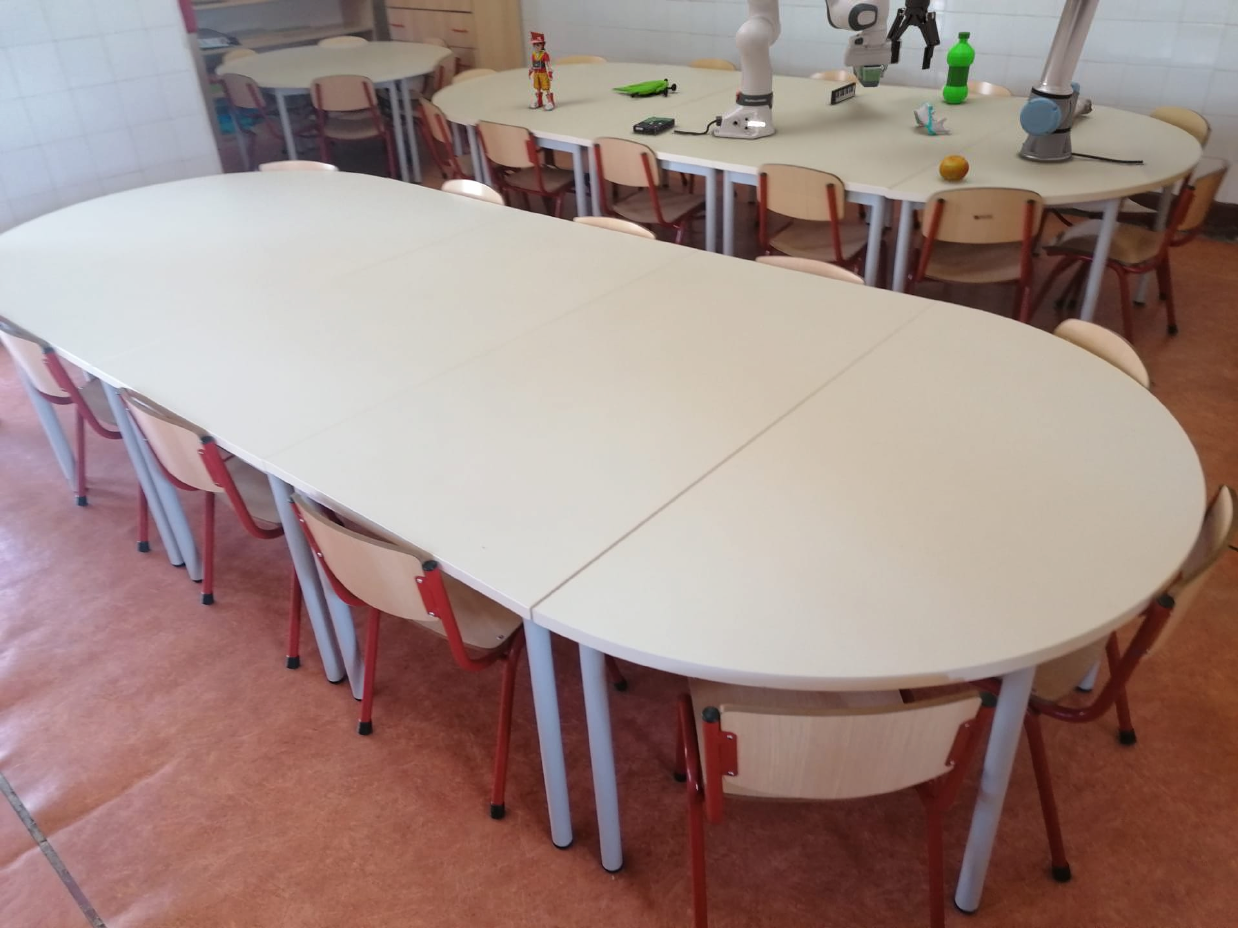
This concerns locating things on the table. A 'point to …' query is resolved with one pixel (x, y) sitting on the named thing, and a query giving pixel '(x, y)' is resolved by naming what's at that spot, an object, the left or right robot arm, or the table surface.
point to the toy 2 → (648, 88)
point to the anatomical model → (929, 119)
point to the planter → (869, 75)
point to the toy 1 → (541, 71)
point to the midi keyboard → (843, 93)
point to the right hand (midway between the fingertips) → (909, 66)
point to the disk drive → (653, 125)
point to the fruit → (954, 168)
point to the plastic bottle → (958, 69)
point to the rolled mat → (1082, 107)
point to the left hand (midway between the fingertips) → (870, 78)
